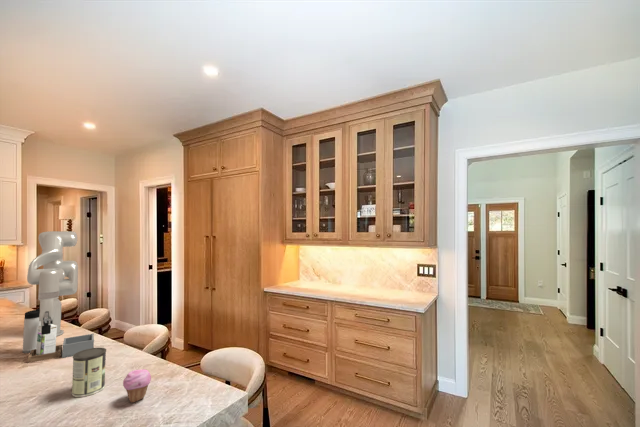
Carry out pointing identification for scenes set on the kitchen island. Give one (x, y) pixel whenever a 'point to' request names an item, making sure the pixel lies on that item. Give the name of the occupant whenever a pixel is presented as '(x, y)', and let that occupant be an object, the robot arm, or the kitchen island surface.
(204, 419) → the kitchen island surface
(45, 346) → the syrup box
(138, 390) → the cupcake
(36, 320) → the travel mug
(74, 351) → the bin
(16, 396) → the kitchen island surface
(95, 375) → the coffee can
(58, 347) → the socket collar
